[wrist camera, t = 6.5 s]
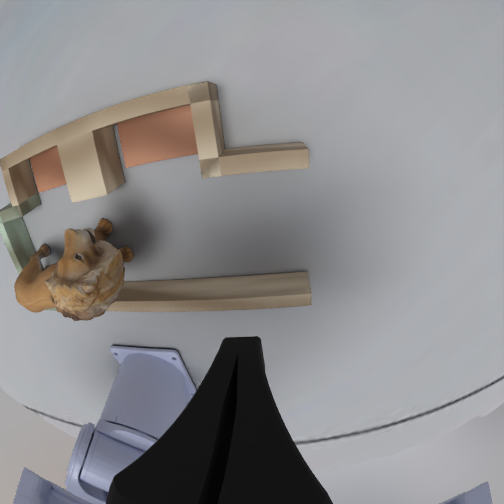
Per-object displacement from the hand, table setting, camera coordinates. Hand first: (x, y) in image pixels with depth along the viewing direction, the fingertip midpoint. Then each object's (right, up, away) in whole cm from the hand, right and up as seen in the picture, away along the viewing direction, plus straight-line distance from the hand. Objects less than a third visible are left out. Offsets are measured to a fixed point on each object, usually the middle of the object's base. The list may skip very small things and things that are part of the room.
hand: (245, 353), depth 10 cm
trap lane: (-9, +7, +7) cm, 13 cm away
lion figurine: (-13, +5, +9) cm, 16 cm away
